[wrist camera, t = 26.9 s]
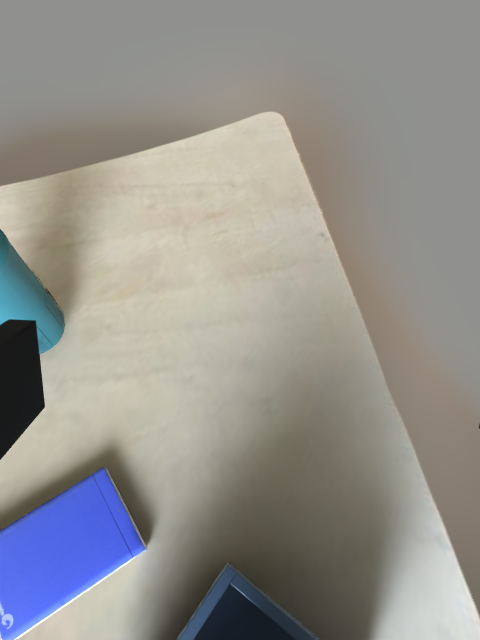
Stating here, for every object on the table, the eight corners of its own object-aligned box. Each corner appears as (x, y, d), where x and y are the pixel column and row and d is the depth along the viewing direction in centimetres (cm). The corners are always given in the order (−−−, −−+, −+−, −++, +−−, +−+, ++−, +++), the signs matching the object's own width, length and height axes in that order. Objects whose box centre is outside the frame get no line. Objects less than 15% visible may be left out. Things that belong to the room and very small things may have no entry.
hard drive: (3, 646, 35) (145, 549, 39) (-32, 548, 38) (103, 465, 42) (11, 643, 37) (148, 549, 40) (-23, 548, 40) (107, 468, 43)
